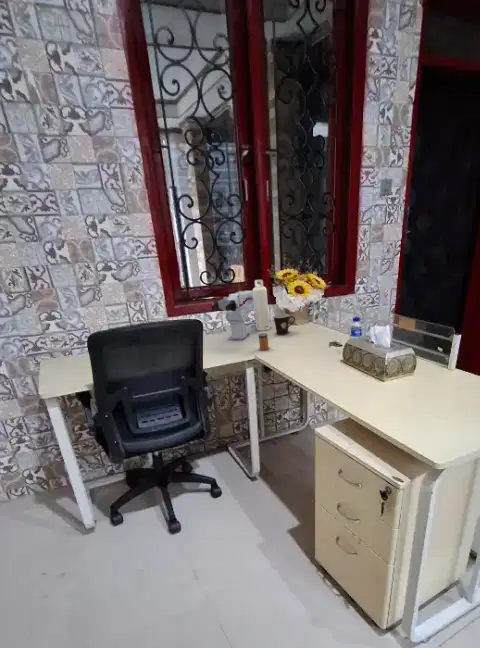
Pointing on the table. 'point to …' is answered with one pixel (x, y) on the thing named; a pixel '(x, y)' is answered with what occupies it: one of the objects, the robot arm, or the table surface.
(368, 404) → the table surface
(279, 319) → the coffee mug
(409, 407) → the table surface
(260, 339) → the amber jar
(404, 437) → the table surface
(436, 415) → the table surface
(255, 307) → the bottle
